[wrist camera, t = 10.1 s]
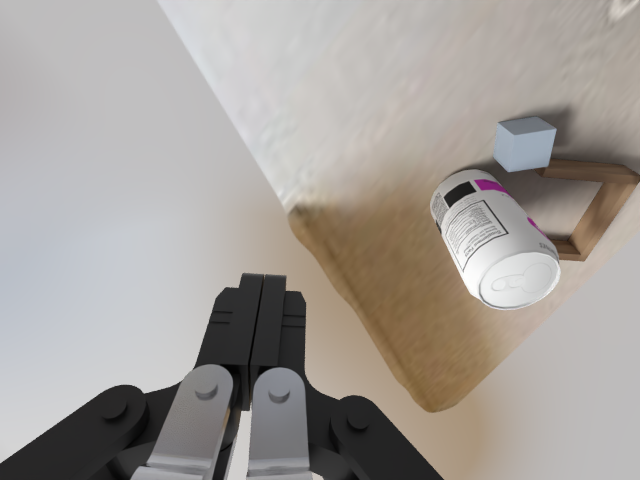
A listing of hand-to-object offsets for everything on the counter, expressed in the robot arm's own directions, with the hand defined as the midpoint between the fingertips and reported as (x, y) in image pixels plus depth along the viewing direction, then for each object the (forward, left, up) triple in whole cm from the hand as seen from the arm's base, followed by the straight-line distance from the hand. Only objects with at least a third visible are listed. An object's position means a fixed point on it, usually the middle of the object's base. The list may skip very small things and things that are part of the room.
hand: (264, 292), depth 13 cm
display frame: (+11, +32, -29) cm, 45 cm away
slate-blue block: (+3, +24, -29) cm, 38 cm away
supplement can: (+11, +21, -29) cm, 37 cm away
